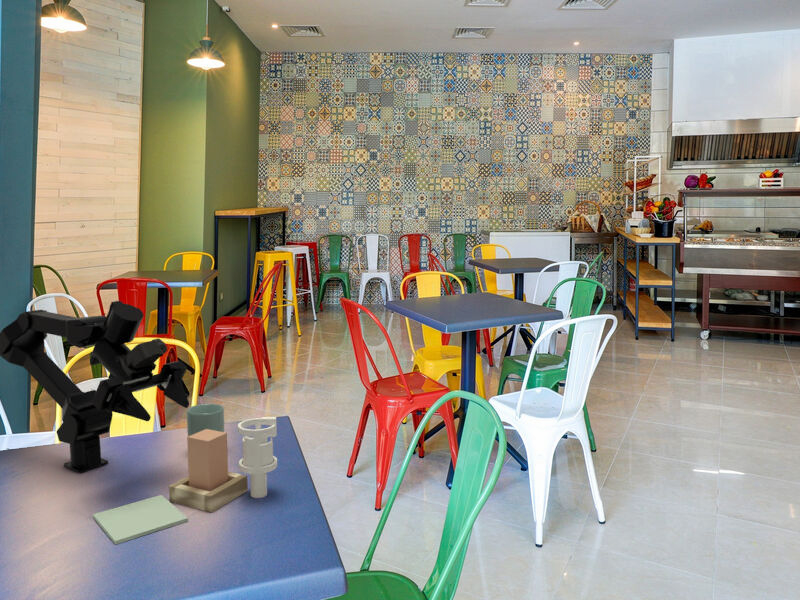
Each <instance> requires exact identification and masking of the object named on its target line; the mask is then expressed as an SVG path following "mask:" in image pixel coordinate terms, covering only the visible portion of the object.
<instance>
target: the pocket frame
mask: <svg viewBox="0 0 800 600" xmlns="http://www.w3.org/2000/svg"><path fill="white" fill-rule="evenodd" d="M248 490H249V489H248V475H245V474H241V473H235V472H232V471H228V482H227V483H225V484H223V485H221V486H219V487H218V488H216V489H214V490H212V491H206V490H202V489H198V488H194V487H190V486H189V475H188V476H186V477H184V478H181V479H180V480H177V481H176V482H174V483H172V484H170V485H168V491H169V492H168V498H169V499H168V501H169V502H170V503H174V504H178V505H183V506H186V507H189V508H193V509H196V510H197V509H198V510H201V511H203V512H208V513H213V512H214V511H216V510H218V509H220V508H222V507H223V506H224V505H227V504H228V503H229V502H231V501H233V500H235V499H237V498H238V497H240V496H241V495H244V494H245V493H247V492H249V491H248Z"/></svg>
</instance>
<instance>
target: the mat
mask: <svg viewBox="0 0 800 600" xmlns="http://www.w3.org/2000/svg"><path fill="white" fill-rule="evenodd" d="M92 519H93V520H94V521H95V522H96V523H97V524H98V525H99V527H100V528H101V529H102V530H103V532H104V533H105V534H106V535H107V537H108V538H109V539H110V540H111V541H112V542H113V544H114V545H118V544H122V543H125V542H127V541H130V540H134V539H137V538H140V537H144V536H146V535H149V534H152V533H156V532H159V531H162V530H165V529H168V528H170V527H171V528H172V527H174V526H178V525H181V524H183V523H187V522H189V518H188V517H187V516H186V515H185V514H184V513H183V512H182V511H181V510H180V509H178V508H177V507H176V506H175V505H174V504H172V502H170V501H169V499H167V498H166V497H165V496H164V495H162V494H160V495H156V496H152V497H148V498H145V499H142V500H138V501H135V502H132V503H127V504H125V505H121V506H118V507H114V508H110V509H107V510H104V511H99V512H97V513H94V514H92Z"/></svg>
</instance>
